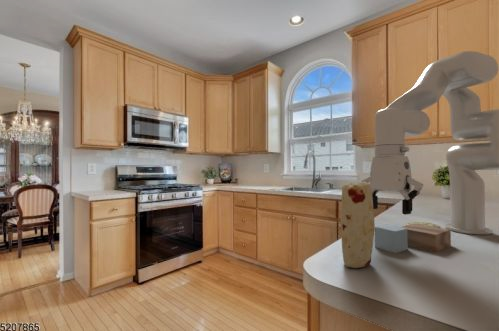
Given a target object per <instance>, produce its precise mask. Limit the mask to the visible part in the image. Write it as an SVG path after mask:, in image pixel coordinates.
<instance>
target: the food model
mask: <svg viewBox="0 0 499 331" xmlns="http://www.w3.org/2000/svg"><path fill="white" fill-rule="evenodd" d="M340 206H341V208H340V209H341V210H340V235H341V248H342V251H341V252H342V259H343V264H344V265H345V267H347V268H352V269H357V268H358V269H359V268H364V267H367V266H369V265H370V264H372V254H373V246H374V240H375V227H376V225H375V212H374V210H375V209H373V197H372V189H371V185H370V182H369V183H367V182H361V181H360V182H357V183H356V182H354V183H353V182H349V183H347V184H343V185H342V187H341V204H340Z"/></svg>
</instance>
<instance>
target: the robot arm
mask: <svg viewBox="0 0 499 331" xmlns="http://www.w3.org/2000/svg"><path fill="white" fill-rule="evenodd" d="M498 71H499V64H498V62H497V60H496V58H494V57H493V56H491V55H489V54H486V53H483V52H480V51H479V52H478V51H474V50H473V51H472V50H467V51H461V52H458V53H455V54H452V55H450V56H446V57H443V58H440V59H438V60H435V61H434V62H432V63H430V64H428V66H426V68H425V69H424V70H423V72H422V74H421V75H420V76H419V78H418V79H417V81H416V82H415V84H414V85H413V87H412V88H411V89H409V90H408V91H406V92H405V93H403V95H401V96H399V97H398V98H396V99H395V100H394V101H392V102H391V103H389V105H388V106H387V107H385V108H384V109H380V110H378V111H376V113H375V115H374V156H373V157H372V160H371V165H370V173H369V177H366V178H365V179H363V180H361V181H360V182H367V183H369V184H370V185H371V189H372V197H373V209H374V210H377V209H379V208H378V207H379V206H378V204H379V202H378V200H379V198H378V195H377V194H378V193H379V192H380V191H381V192H395V193H400V194H401V196H402V197H403V199H402V202H401V203H402V204H401V209H402V211H401V212H402V214H403V215H405V216H406V215H411V214H412V211H413V200H414V199H415V198H416V197H417V196H418V195H419V194H420V192H421V191H422V189H423V187H424V184H423V183H422V182H421V181H418V180H417V179H415V178H413V177H412V170H411V165H410V159H409V156H408V155H407V156H405V155H406V153H409V152H410V147H409V146H406V145H405V138H407V137H408V138H409V137H416V136H420V135H422V134H425V133H426V132H427V131H428V130H429V128H430V126H431V120H430V116H429V115H428V114H427V113H426V112H424V111H423V110H425V109H427V108H429V107H432V106H433V105H435V104H436V103H437V102H438V101H440V99H441V97H442V96H443V97H444V98H445V99H446V101H447V103H448V105H449V121H450V124H449V125H450V134H451V135H450V136H451V137H452V138H453V139H454V140H455V141H473V140H485V139H489V140H490V141H488V142H475V143H464V144H463V143H461V144H456V145H453V146H451V147H449V149H448V150H447V151H446V153H445V160H446V164H447V167H448V173H449V174H448V175H449V202H450V204H449V205H450V223H447V224H445V225H444V226H445V229H449V230H451V232H455V233H461V234H467V235H477V236H478V235H483V236H485V235H491V234H492V233H493V232H492V229H491V228H489V227H486V201H485V200H486V195H485V194H486V192H485V186H486V185H485V182H484V179H483V178H482V177H481V175H480V174H478V172H477V171H499V109H489V110H483V111H482V110H481V107H482V106H481V98H480V97H479V95H478V94H477V93H476V92H474V91H473V90H471V89H470V88H469V87H474V86H478V85H481V84H482V85H483V84H485V83H489V82H491V81H493V80H494V79H495V78H496V77H497V75H498Z"/></svg>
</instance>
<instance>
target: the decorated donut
mask: <svg viewBox="0 0 499 331" xmlns="http://www.w3.org/2000/svg"><path fill="white" fill-rule="evenodd" d="M410 224H419V225H425V226H431V227H437V228H442V226H440V225H438V224H435V223H432V222H419V221H411V222H407V223H405V226H406V225H410Z"/></svg>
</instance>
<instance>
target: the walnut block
mask: <svg viewBox="0 0 499 331" xmlns="http://www.w3.org/2000/svg"><path fill="white" fill-rule="evenodd" d="M401 227H402V228H407V239H408V247H414V248H418V249H421V250H425V251H430V252H433V253H434V252H435V253H437V252H440V251H441V250H444V249H447V248H449V247H451V246H452V239H451V238H452V237H451V236H452V233H451V232H452V230H449V229H447V228H442V227H441V228H437V227H431V226H425V225H419V224H410V225H406V224H405V225H403V226H401Z"/></svg>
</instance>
